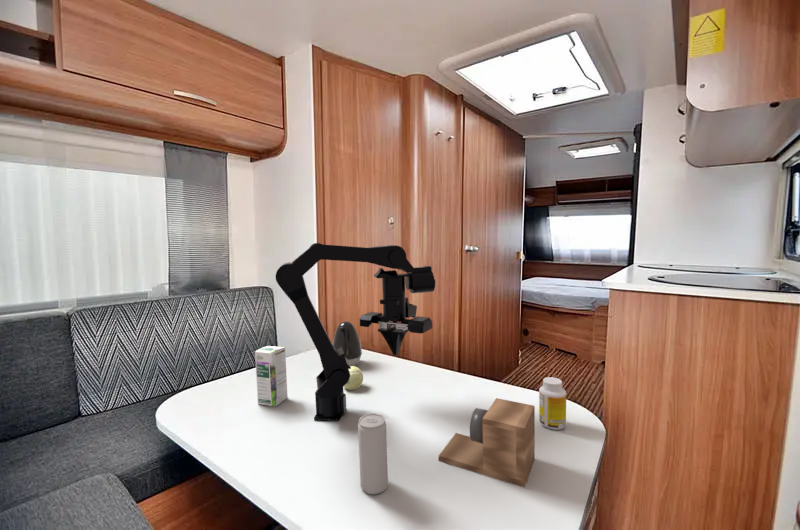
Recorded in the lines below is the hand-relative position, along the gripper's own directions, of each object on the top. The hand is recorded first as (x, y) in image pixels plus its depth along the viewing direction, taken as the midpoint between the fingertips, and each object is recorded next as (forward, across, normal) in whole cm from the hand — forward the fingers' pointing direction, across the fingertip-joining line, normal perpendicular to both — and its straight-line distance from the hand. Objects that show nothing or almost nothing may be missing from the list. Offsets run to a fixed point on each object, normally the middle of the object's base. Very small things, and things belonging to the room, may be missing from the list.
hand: (395, 354), depth 92 cm
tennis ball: (+13, +17, -3) cm, 22 cm away
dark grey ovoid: (+13, +30, -17) cm, 37 cm away
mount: (+13, -27, +12) cm, 32 cm away
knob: (+10, -29, +12) cm, 33 cm away
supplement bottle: (+13, -36, -7) cm, 39 cm away
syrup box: (+13, +31, +14) cm, 36 cm away
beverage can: (+13, -12, +28) cm, 34 cm away
